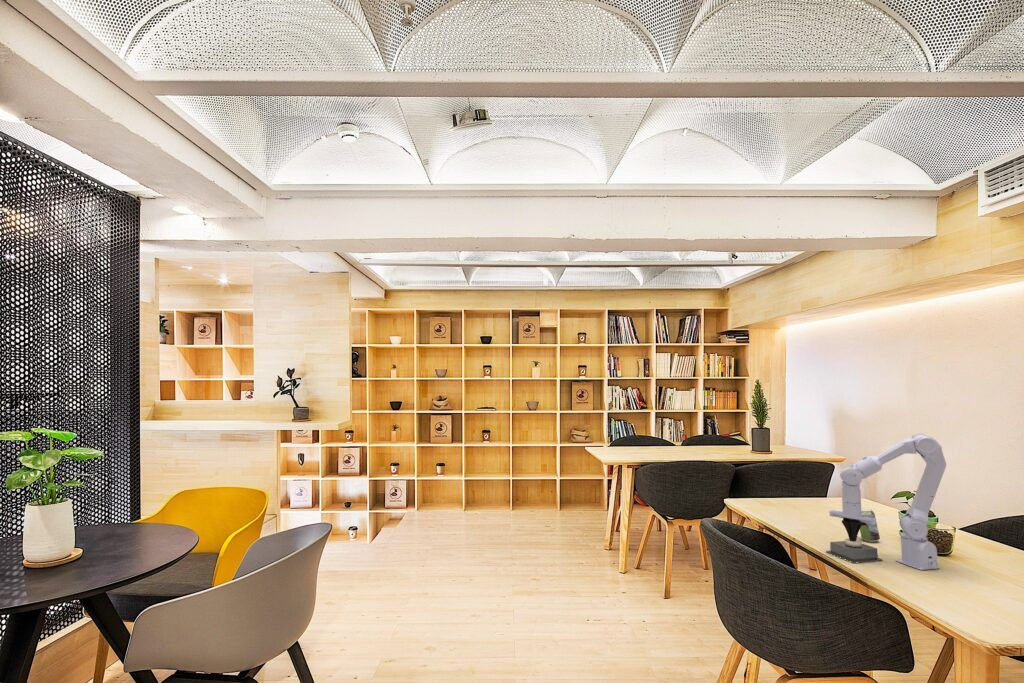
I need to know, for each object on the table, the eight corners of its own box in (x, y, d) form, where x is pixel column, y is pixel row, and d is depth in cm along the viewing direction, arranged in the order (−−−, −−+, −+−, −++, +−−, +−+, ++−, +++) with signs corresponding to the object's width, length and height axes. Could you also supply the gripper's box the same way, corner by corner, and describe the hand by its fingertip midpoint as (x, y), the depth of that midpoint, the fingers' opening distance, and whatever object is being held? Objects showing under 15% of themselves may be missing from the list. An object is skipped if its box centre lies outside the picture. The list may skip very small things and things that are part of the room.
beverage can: (879, 544, 207) (878, 512, 207) (856, 540, 211) (855, 509, 212) (880, 540, 212) (879, 509, 212) (858, 537, 216) (857, 506, 217)
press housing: (882, 561, 187) (882, 549, 188) (853, 563, 185) (853, 551, 185) (853, 550, 199) (853, 539, 199) (826, 552, 196) (825, 541, 197)
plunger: (865, 556, 190) (865, 542, 190) (853, 557, 189) (853, 543, 189) (853, 552, 195) (853, 538, 195) (842, 553, 194) (841, 539, 194)
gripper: (879, 504, 190) (880, 544, 189) (835, 496, 201) (836, 534, 201) (870, 507, 186) (871, 547, 185) (826, 499, 197) (827, 537, 197)
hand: (853, 540), depth 192 cm, fingers closed, pressing on plunger
